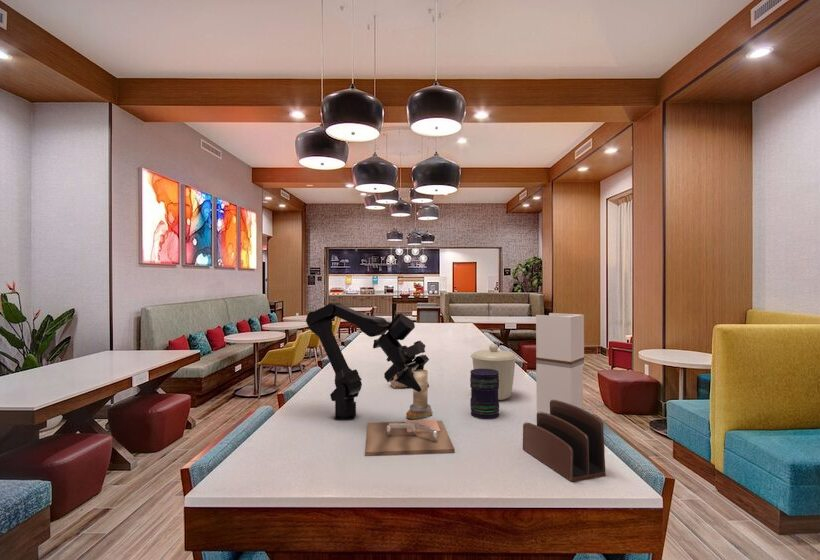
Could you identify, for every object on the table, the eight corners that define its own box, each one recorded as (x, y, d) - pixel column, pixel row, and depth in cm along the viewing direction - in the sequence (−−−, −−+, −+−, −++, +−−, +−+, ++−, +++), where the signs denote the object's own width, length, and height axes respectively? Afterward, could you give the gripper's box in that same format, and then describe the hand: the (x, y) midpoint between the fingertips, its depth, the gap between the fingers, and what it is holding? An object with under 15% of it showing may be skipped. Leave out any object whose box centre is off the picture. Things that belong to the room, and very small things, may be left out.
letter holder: (552, 445, 118) (552, 395, 118) (606, 476, 99) (605, 417, 99) (521, 450, 115) (521, 398, 115) (571, 483, 96) (571, 422, 96)
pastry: (415, 422, 138) (415, 410, 138) (401, 417, 142) (401, 406, 142) (434, 415, 144) (434, 404, 144) (420, 411, 149) (419, 400, 149)
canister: (523, 395, 169) (523, 342, 169) (508, 406, 153) (507, 349, 153) (481, 389, 178) (481, 339, 178) (463, 399, 163) (463, 345, 163)
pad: (407, 433, 124) (407, 431, 124) (405, 422, 134) (405, 420, 134) (440, 432, 125) (440, 430, 125) (436, 421, 135) (436, 419, 135)
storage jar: (481, 421, 138) (481, 375, 138) (464, 413, 146) (464, 370, 146) (505, 416, 142) (505, 372, 142) (487, 408, 151) (487, 367, 151)
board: (365, 455, 111) (365, 452, 111) (367, 425, 134) (367, 422, 134) (454, 452, 113) (454, 449, 113) (441, 423, 136) (441, 420, 136)
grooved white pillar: (584, 421, 136) (583, 314, 136) (571, 430, 129) (570, 316, 129) (550, 414, 144) (550, 312, 144) (536, 422, 136) (536, 314, 137)
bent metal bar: (386, 436, 122) (386, 424, 122) (391, 432, 125) (390, 420, 125) (436, 442, 117) (436, 430, 117) (440, 438, 120) (439, 425, 120)
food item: (391, 389, 178) (391, 366, 178) (389, 385, 186) (389, 363, 186) (422, 388, 180) (422, 365, 180) (419, 383, 188) (419, 361, 188)
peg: (415, 414, 123) (415, 374, 123) (406, 408, 129) (406, 369, 129) (434, 411, 126) (434, 372, 126) (424, 405, 132) (424, 368, 132)
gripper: (392, 336, 122) (426, 379, 116) (423, 329, 138) (454, 367, 132) (370, 361, 126) (401, 403, 120) (403, 351, 142) (432, 388, 136)
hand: (424, 389), depth 127 cm, fingers closed on peg, 4 cm apart
